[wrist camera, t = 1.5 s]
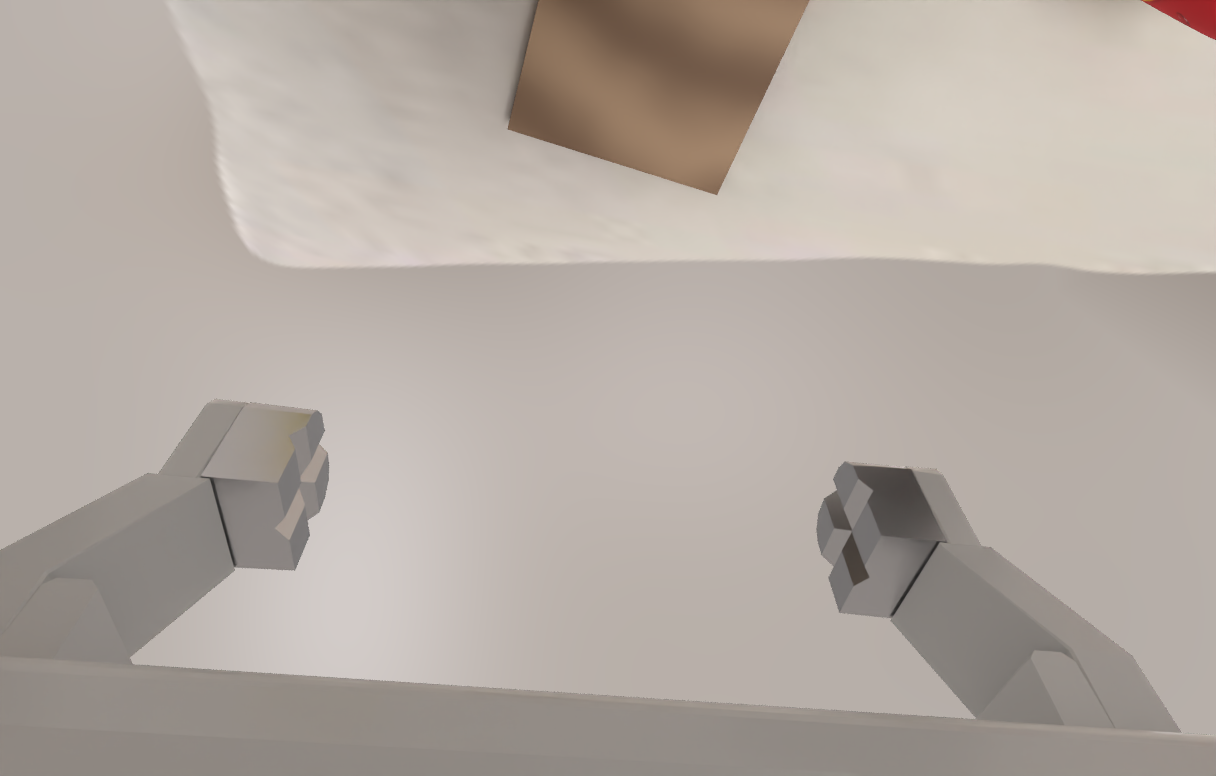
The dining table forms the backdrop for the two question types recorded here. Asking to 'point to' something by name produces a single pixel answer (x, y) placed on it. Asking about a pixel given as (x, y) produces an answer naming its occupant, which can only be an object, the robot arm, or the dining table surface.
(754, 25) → the walnut board
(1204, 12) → the soda can
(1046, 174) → the dining table surface
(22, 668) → the robot arm
